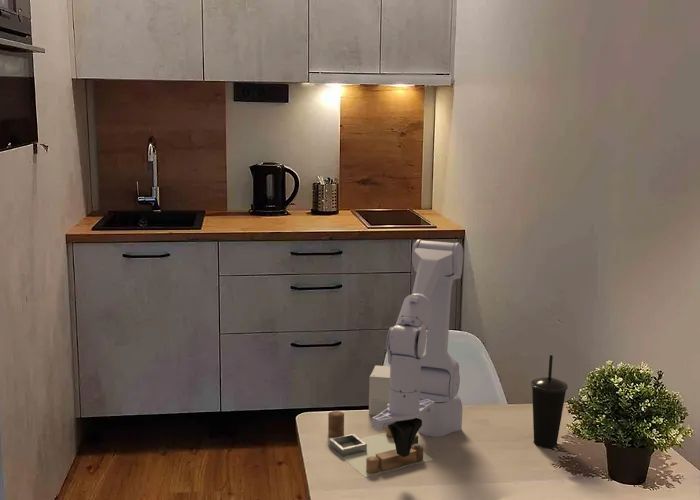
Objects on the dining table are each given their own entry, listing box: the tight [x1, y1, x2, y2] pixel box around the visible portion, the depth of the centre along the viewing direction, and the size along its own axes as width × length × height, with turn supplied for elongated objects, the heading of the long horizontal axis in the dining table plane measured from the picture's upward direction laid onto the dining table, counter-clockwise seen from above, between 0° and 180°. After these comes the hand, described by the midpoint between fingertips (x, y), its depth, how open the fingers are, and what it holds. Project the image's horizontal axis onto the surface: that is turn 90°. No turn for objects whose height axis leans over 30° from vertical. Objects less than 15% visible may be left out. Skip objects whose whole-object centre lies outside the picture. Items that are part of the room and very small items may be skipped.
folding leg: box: [376, 443, 425, 471], centre depth 160 cm, size 10×3×3 cm, turn 119°
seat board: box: [328, 426, 434, 478], centre depth 165 cm, size 16×16×4 cm
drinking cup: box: [530, 354, 569, 449], centre depth 171 cm, size 8×8×20 cm
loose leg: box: [327, 410, 345, 439], centre depth 173 cm, size 3×3×6 cm
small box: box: [368, 365, 390, 416], centre depth 186 cm, size 8×6×10 cm
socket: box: [328, 433, 367, 458], centre depth 166 cm, size 6×6×2 cm
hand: (402, 454), depth 153 cm, fingers closed
